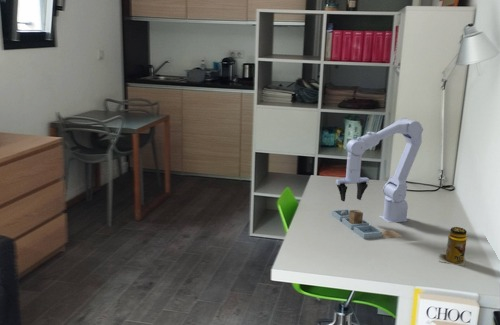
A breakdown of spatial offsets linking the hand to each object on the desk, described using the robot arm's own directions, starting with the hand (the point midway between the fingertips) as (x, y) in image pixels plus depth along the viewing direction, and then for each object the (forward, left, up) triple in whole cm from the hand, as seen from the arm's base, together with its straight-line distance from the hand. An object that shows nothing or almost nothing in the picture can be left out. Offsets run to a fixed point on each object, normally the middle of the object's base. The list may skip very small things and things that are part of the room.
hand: (350, 200), depth 216 cm
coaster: (-9, +17, -10) cm, 22 cm away
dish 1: (0, -5, -10) cm, 11 cm away
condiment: (-18, +43, -10) cm, 48 cm away
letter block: (0, +5, -9) cm, 11 cm away
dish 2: (0, +5, -10) cm, 11 cm away
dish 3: (0, +15, -10) cm, 18 cm away
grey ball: (0, -5, -9) cm, 11 cm away
